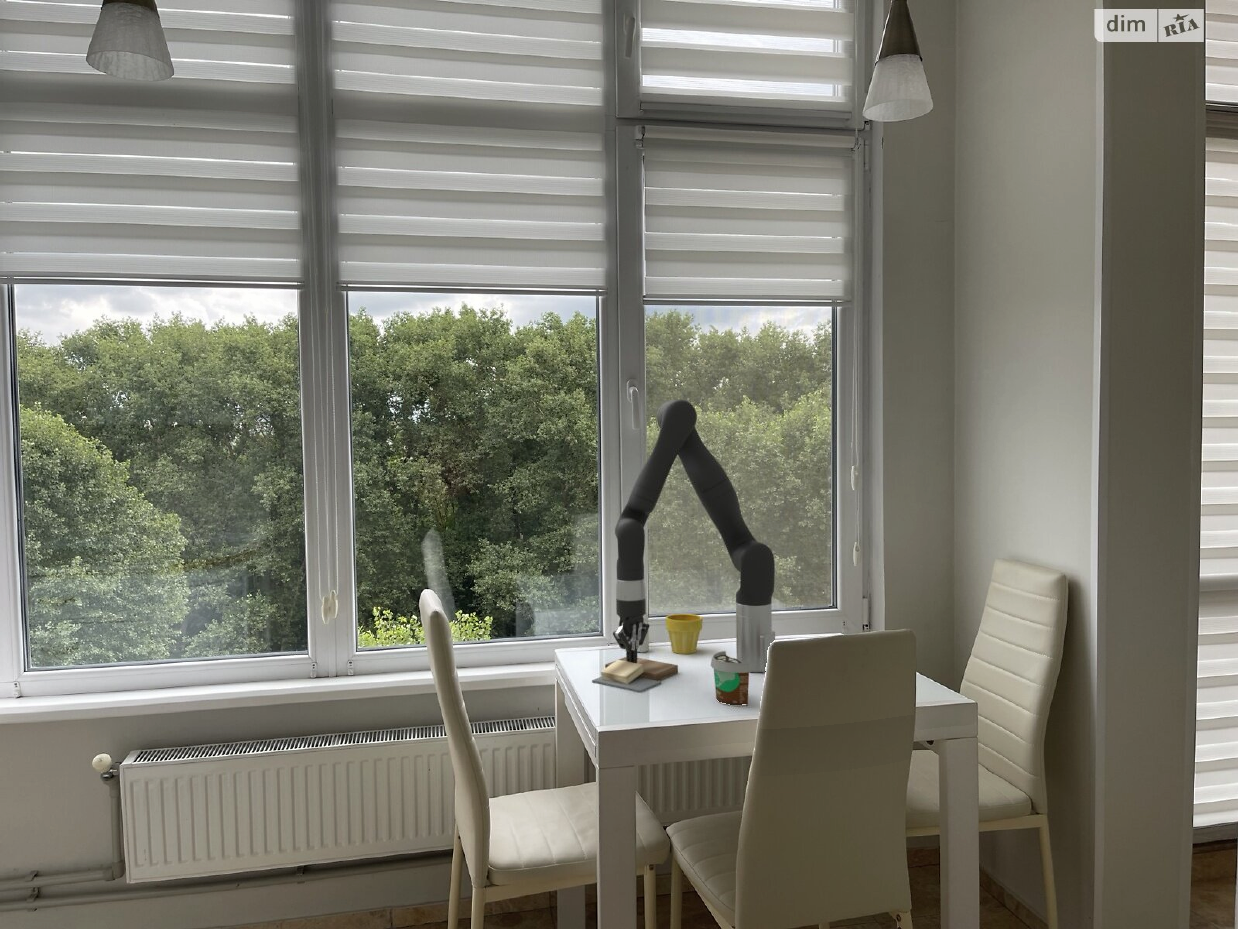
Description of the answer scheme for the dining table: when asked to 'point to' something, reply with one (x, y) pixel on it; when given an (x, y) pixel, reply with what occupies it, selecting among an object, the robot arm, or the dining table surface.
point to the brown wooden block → (654, 669)
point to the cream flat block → (622, 671)
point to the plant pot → (684, 632)
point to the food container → (730, 679)
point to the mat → (631, 684)
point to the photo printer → (646, 642)
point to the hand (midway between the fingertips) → (632, 663)
